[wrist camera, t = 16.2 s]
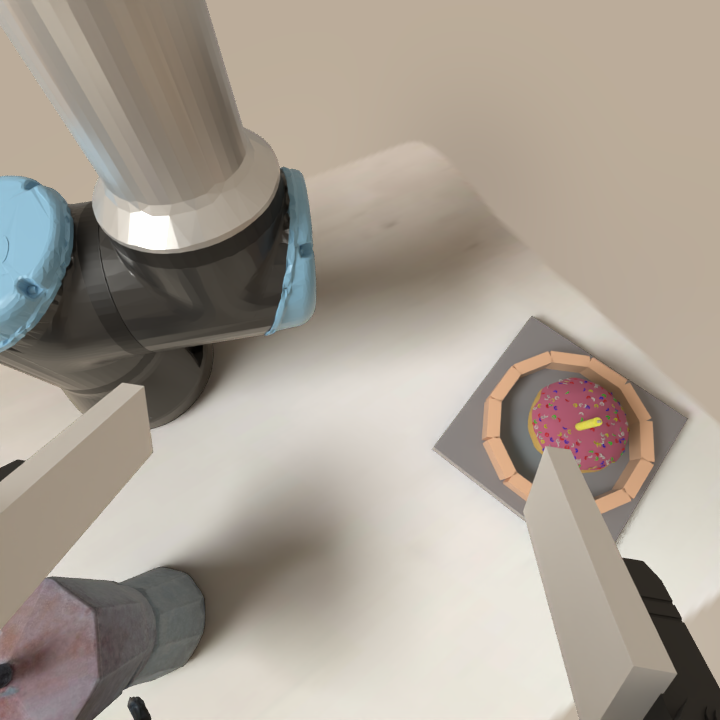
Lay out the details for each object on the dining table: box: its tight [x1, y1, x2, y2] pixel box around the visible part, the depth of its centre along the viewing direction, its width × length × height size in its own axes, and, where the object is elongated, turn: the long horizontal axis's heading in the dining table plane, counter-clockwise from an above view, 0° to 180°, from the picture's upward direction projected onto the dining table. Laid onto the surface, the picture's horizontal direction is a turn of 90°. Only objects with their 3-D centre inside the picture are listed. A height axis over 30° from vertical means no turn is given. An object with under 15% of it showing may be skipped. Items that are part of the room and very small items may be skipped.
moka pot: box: [0, 567, 205, 720], centre depth 32 cm, size 10×15×20 cm, turn 44°
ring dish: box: [432, 316, 688, 542], centre depth 45 cm, size 18×18×4 cm
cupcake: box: [528, 378, 630, 473], centre depth 39 cm, size 9×8×12 cm
